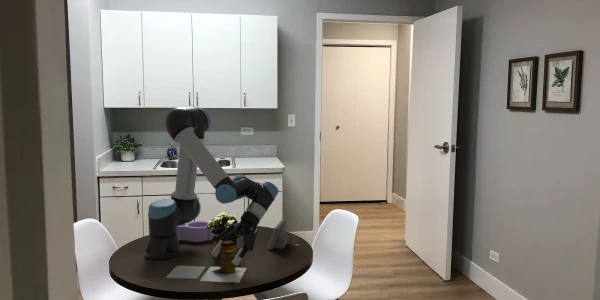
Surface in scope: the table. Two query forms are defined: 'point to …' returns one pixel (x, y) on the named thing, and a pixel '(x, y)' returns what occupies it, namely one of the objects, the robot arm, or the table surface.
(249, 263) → the table surface
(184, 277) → the mat
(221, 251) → the condiment
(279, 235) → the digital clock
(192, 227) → the purple compartment organizer
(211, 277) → the tile
